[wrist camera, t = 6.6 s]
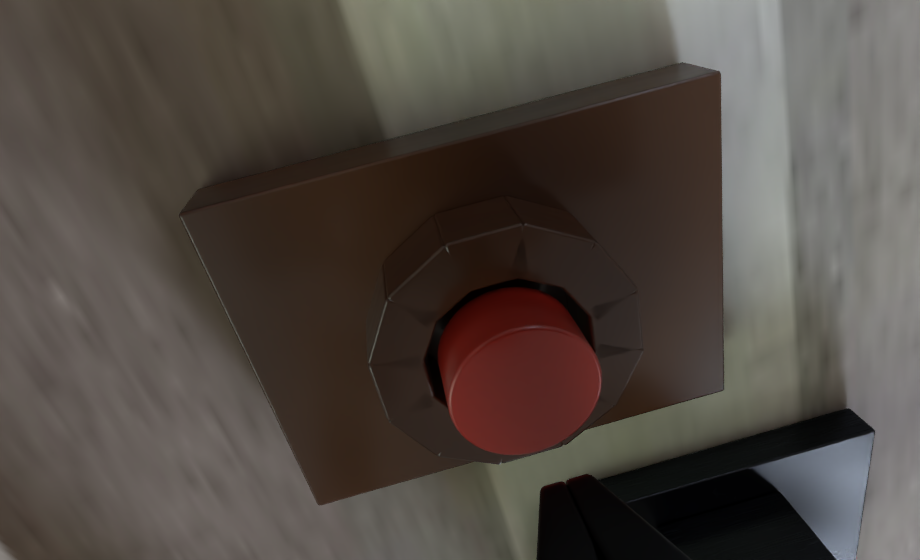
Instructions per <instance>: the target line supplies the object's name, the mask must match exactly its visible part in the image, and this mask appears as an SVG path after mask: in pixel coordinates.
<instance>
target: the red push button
mask: <svg viewBox="0 0 920 560" xmlns="http://www.w3.org/2000/svg"><path fill="white" fill-rule="evenodd" d="M438 364H439V369H440V374H441V378H442V383H443V387H444V392H445V397H446V401H447V406H448V410H449V415H450V417H451V420H452V422H453V424H454V426H455V427H456V429H457V430H458V431H459V432H460V434H461V435H462V436H463V437H464V438H466V439H467V440H468V441H469V442H470V443H472V444H473V445H475V446H477V447H479V448H481V449H483V450H486V451H489V452H492V453H497V454H503V455H523V454H530V453H534V452H538V451H541V450H544V449H547V448H550V447H552V446H554V445H556V444H558V443H560V442H562V441H563V440H565V439H567V438H568V437H569V436H571V435H572V434H573V433H575V432H576V431H577V430H578V429H579V428H580V427H581V426H582V425H583V424H584V423H585V422H586V421H587V419H588V418H589V416H590V415H591V414H592V412H593V410H594V408H595V407H596V404H597V402H598V399H599V396H600V392H601V386H602V371H601V366H600V363H599V360H598V358H597V355H596V354H595V352H594V350H593V349H592V347H591V346H590V344H589V343H588V341H587V340H586V338H585V336H584V335H583V333H582V332H581V330H580V329H579V327H578V326H577V324H576V323H575V321H574V319H573V318H572V316H571V315H570V313H569V312H568V310H567V309H566V308H565V307H564V305H563V304H562V303H560V302H559V301H558V300H557V299H556V298H554V297H552V296H551V295H549V294H547V293H545V292H542V291H539V290H536V289H532V288H526V287H505V288H500V289H495V290H492V291H489V292H486V293H484V294H481V295H479V296H477V297H475V298H474V299H472V300H471V301H469V302H468V303H466V304H465V305H464V306H462V307H461V308H460V309H459V310H458V311H457V312H456V313H455V314H454V315H453V317H452V318H451V319H450V321H449V322H448V324H447V326H446V327H445V329H444V331H443V333H442V336H441V338H440V342H439V346H438Z"/></svg>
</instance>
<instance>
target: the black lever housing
mask: <svg viewBox="0 0 920 560" xmlns="http://www.w3.org/2000/svg"><path fill="white" fill-rule="evenodd" d="M874 435H875V430H874V429H873V428H872V427H870V426H869V425H868V424H867V423H866V422H865V421H863V420H862V419H861V418H860V417H859V416H858V415H856V414H855V413H854V412H853V411H852V410H851V409H845V410H841V411H838V412H835V413H831V414H828V415H824V416H821V417H817V418H814V419H810V420H807V421H803V422H800V423H796V424H793V425H789V426H786V427H783V428H779V429H776V430H772V431H769V432H765V433H762V434H758V435H755V436H751V437H748V438H744V439H741V440H738V441H734V442H731V443H727V444H724V445H720V446H717V447H713V448H710V449H706V450H703V451H699V452H696V453H692V454H689V455H686V456H682V457H679V458H675V459H672V460H668V461H665V462H661V463H658V464H654V465H651V466H647V467H644V468H641V469H637V470H634V471H630V472H627V473H623V474H620V475H616V476H613V477H609V478H606V479H602V480H599V482H600V483H602V484H603V485H604V486H605V487H606V488H608V489H609V490H610V491H611V492H612V493H613V494H615V495H616V496H617V497H618V498H619V499H621V500H622V501H623V502H624V503H625V504H626V505H628V506H629V507H630V508H631V509H632V510H634V511H635V512H636V513H637V514H638V515H639V516H641V517H642V518H643V519H644V520H645V521H647V522H648V523H649V524H650V525H651V526H653V527H654V528H655V529H656V530H657V531H658V532H660V533H661V534H662V535H663V536H664V537H666V538H667V539H668V540H669V541H670V542H671V543H673V544H674V545H675V546H676V547H677V548H679V549H680V550H681V551H682V552H683V553H684V554H686V555H687V556H688V557H689V558H690V559H692V560H856V555H857V548H858V541H859V535H860V528H861V521H862V515H863V508H864V501H865V495H866V488H867V481H868V475H869V468H870V461H871V455H872V448H873V441H874Z"/></svg>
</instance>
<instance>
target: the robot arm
mask: <svg viewBox="0 0 920 560" xmlns="http://www.w3.org/2000/svg"><path fill="white" fill-rule="evenodd" d="M537 560H692V559H690V558H689V557H688V556H687V555H686V554H684V553H683V552H682V551H681V550H680V549H679V548H677V547H676V546H675V545H674V544H673V543H671V542H670V541H669V540H668V539H667V538H666V537H664V536H663V535H662V534H661V533H660V532H658V531H657V530H656V529H655V528H654V527H653V526H651V525H650V524H649V523H648V522H647V521H645V520H644V519H643V518H642V517H641V516H639V515H638V514H637V513H636V512H635V511H634V510H632V509H631V508H630V507H629V506H628V505H626V504H625V503H624V502H623V501H622V500H621V499H619V498H618V497H617V496H616V495H615V494H613V493H612V492H611V491H610V490H609V489H608V488H606V487H605V486H604V485H603V484H602V483H600V482H599V481H598V480H597V479H596V478H595V477H593V476H592V475H589V474H585V475H581V476H578V477H574V478H571V479H569V480H567V482H566V484H565V483H564V482H557V483H553V484H550V485H547V486H544V487H542V488H541V490H540V505H539V524H538V543H537Z"/></svg>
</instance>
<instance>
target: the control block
mask: <svg viewBox="0 0 920 560" xmlns="http://www.w3.org/2000/svg"><path fill="white" fill-rule="evenodd" d="M179 217H180V219H181V221H182V223H183V225H184V227H185V229H186V232H187V234H188V236H189V238H190V240H191V242H192V244H193V246H194V248H195V250H196V252H197V254H198V256H199V259H200V261H201V263H202V265H203V267H204V269H205V271H206V273H207V275H208V277H209V279H210V281H211V283H212V286H213V288H214V290H215V292H216V294H217V296H218V298H219V300H220V302H221V304H222V306H223V308H224V311H225V313H226V315H227V317H228V319H229V321H230V323H231V325H232V327H233V329H234V331H235V333H236V335H237V338H238V340H239V342H240V344H241V346H242V348H243V350H244V352H245V354H246V356H247V358H248V360H249V362H250V365H251V367H252V369H253V371H254V373H255V375H256V377H257V379H258V381H259V383H260V385H261V387H262V389H263V392H264V394H265V396H266V398H267V400H268V402H269V404H270V406H271V408H272V410H273V412H274V414H275V416H276V419H277V421H278V423H279V425H280V427H281V429H282V431H283V433H284V435H285V437H286V439H287V441H288V443H289V446H290V448H291V450H292V452H293V454H294V456H295V458H296V460H297V462H298V464H299V466H300V468H301V470H302V473H303V475H304V477H305V479H306V481H307V483H308V485H309V487H310V489H311V491H312V493H313V495H314V497H315V500H316V502H317V504H318V505H324V504H327V503H331V502H334V501H338V500H341V499H345V498H348V497H352V496H355V495H359V494H362V493H366V492H369V491H373V490H376V489H380V488H383V487H387V486H390V485H394V484H397V483H401V482H404V481H408V480H411V479H415V478H418V477H422V476H425V475H429V474H432V473H436V472H439V471H443V470H446V469H450V468H453V467H457V466H460V465H464V464H467V463H471V462H474V461H475V462H483V463H491V464H501V462H502V463H506V462H510V461H513V460H517V459H520V458H524V457H527V456H531V455H534V454H538V453H541V452H545V451H548V450H552V449H555V448H559V447H561V446H563V445H566V444H568V443H569V442H570V441H572V440H573V439H574V438H575V437H577V436H578V435H579V434H580V433H582V432H583V431H584V430H587V429H590V428H594V427H597V426H601V425H604V424H608V423H611V422H615V421H618V420H622V419H625V418H629V417H632V416H636V415H639V414H643V413H646V412H650V411H653V410H657V409H660V408H664V407H667V406H671V405H674V404H678V403H681V402H685V401H688V400H692V399H695V398H699V397H702V396H706V395H709V394H713V393H716V392H720V391H723V390H724V339H723V244H722V148H721V74H720V72H719V71H716V70H712V69H708V68H704V67H700V66H696V65H692V64H687V63H683V62H682V63H678V64H674V65H671V66H667V67H663V68H659V69H655V70H651V71H648V72H644V73H640V74H636V75H632V76H629V77H625V78H621V79H617V80H613V81H610V82H606V83H602V84H598V85H594V86H591V87H587V88H583V89H579V90H575V91H572V92H568V93H564V94H560V95H556V96H552V97H549V98H545V99H541V100H537V101H533V102H530V103H526V104H522V105H518V106H514V107H511V108H507V109H503V110H499V111H495V112H492V113H488V114H484V115H480V116H476V117H472V118H469V119H465V120H461V121H457V122H453V123H450V124H446V125H442V126H438V127H434V128H431V129H427V130H423V131H419V132H415V133H412V134H408V135H404V136H400V137H396V138H393V139H389V140H385V141H381V142H377V143H373V144H370V145H366V146H362V147H358V148H354V149H351V150H347V151H343V152H339V153H335V154H332V155H328V156H324V157H320V158H316V159H313V160H309V161H305V162H301V163H297V164H293V165H290V166H286V167H282V168H278V169H274V170H271V171H267V172H263V173H259V174H255V175H252V176H248V177H244V178H240V179H236V180H233V181H229V182H225V183H221V184H217V185H213V186H210V187H206V188H202V189H198V190H197V191H196V192H195V194H194V195H193V196H192V198H191V199H190V200H189V202H188V203H187V204H186V206H185V207H184V208H183V209H182V211H181V212H180V213H179ZM505 287H526V288H532V289H536V290H539V291H542V292H545V293H547V294H549V295H551V296H552V297H554V298H556V299H557V300H558V301H559V302H560V303H562V304H563V305H564V307H565V308H566V309H567V310H568V312H569V313H570V315H571V316H572V318H573V319H574V321H575V323H576V324H577V326H578V327H579V329H580V330H581V332H582V333H583V335H584V336H585V338H586V340H587V341H588V343H589V344H590V346H591V347H592V349H593V350H594V352H595V354H596V355H597V358H598V360H599V363H600V366H601V371H602V386H601V392H600V396H599V399H598V402H597V404H596V407H595V408H594V410H593V412H592V414H591V415H590V416H589V418H588V419H587V421H586V422H585V423H584V424H583V425H582V426H581V427H580V428H579V429H578V430H577V431H576V432H575V433H573V434H572V435H571V436H569V437H568V438H567V439H565V440H563V441H562V442H560V443H558V444H556V445H554V446H552V447H550V448H547V449H544V450H541V451H538V452H534V453H530V454H523V455H503V454H497V453H492V452H489V451H486V450H483V449H481V448H479V447H477V446H475V445H473V444H472V443H470V442H469V441H468V440H467V439H466V438H464V437H463V436H462V435H461V434H460V432H459V431H458V430H457V429H456V427H455V426H454V424H453V422H452V420H451V417H450V415H449V410H448V406H447V401H446V397H445V392H444V387H443V383H442V378H441V374H440V369H439V364H438V346H439V342H440V338H441V336H442V333H443V331H444V329H445V327H446V326H447V324H448V322H449V321H450V319H451V318H452V317H453V315H454V314H455V313H456V312H457V311H458V310H459V309H460V308H461V307H462V306H464V305H465V304H466V303H468V302H469V301H471V300H472V299H474V298H475V297H477V296H479V295H481V294H484V293H486V292H489V291H492V290H495V289H500V288H505Z"/></svg>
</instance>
